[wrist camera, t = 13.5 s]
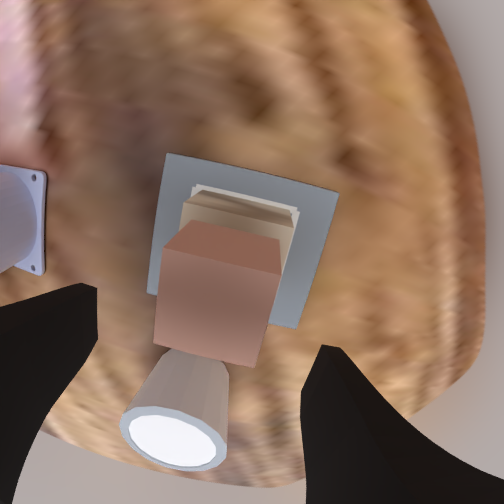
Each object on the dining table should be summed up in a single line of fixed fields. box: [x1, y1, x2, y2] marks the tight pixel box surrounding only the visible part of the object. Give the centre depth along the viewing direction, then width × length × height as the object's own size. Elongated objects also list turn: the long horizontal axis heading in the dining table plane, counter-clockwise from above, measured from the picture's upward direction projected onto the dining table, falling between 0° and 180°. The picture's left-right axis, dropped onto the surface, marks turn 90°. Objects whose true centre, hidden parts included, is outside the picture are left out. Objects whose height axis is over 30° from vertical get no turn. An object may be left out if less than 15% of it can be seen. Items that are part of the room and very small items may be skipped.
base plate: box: [147, 153, 339, 329], centre depth 19 cm, size 10×9×1 cm
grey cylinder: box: [119, 349, 229, 471], centre depth 19 cm, size 7×7×7 cm
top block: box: [153, 219, 282, 368], centre depth 13 cm, size 4×4×4 cm
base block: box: [179, 190, 294, 273], centre depth 17 cm, size 5×5×4 cm
